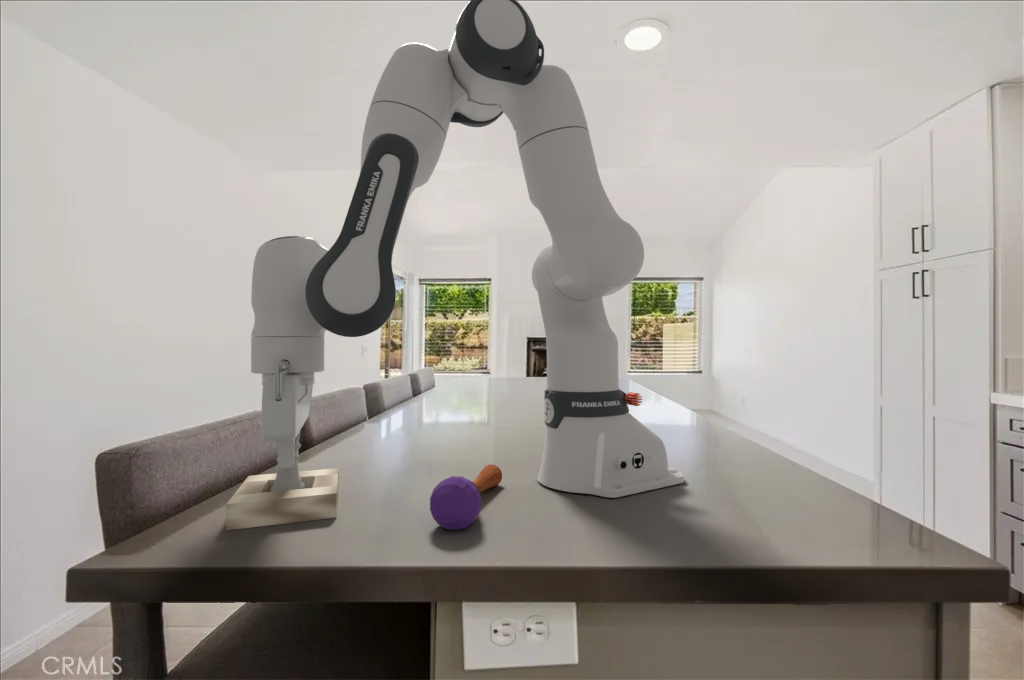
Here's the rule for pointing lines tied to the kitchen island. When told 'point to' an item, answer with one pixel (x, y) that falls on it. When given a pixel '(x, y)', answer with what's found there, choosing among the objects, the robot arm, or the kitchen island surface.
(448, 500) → the purple maraca
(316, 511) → the square wooden frame
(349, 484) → the kitchen island surface
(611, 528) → the kitchen island surface
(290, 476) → the rook chess piece
